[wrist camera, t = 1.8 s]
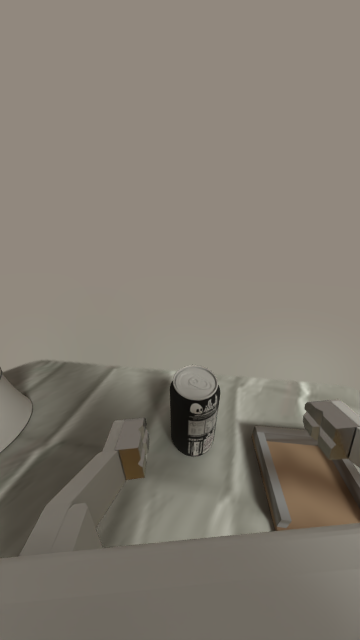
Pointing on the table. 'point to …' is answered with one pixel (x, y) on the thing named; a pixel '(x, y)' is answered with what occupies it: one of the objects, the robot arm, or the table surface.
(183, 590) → the robot arm
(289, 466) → the brown flat square tray
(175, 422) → the beverage can
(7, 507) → the table surface
